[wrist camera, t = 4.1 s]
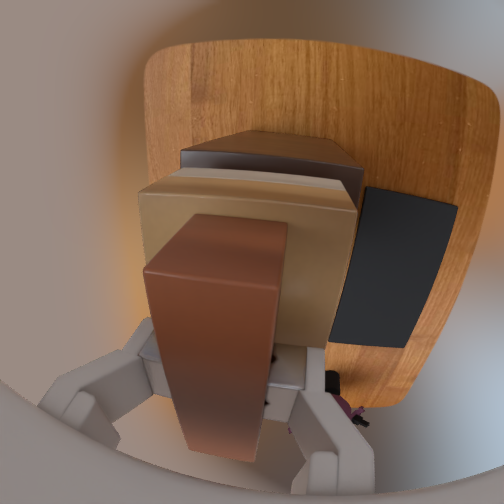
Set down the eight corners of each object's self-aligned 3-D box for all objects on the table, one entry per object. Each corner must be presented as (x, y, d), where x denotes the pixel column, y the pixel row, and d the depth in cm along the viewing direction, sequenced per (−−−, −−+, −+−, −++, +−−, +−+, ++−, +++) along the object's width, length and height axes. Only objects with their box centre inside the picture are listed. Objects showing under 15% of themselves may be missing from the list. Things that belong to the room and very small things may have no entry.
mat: (365, 186, 26) (366, 187, 26) (456, 205, 25) (458, 207, 25) (328, 338, 36) (328, 342, 35) (403, 345, 34) (404, 348, 34)
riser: (247, 130, 26) (180, 149, 12) (331, 139, 25) (364, 168, 11) (242, 225, 31) (187, 324, 17) (317, 235, 30) (322, 346, 16)
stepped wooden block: (182, 166, 11) (67, 235, 5) (341, 180, 10) (389, 273, 4) (194, 339, 15) (149, 442, 9) (306, 356, 14) (299, 471, 8)
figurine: (365, 374, 38) (372, 443, 27) (329, 398, 41) (327, 462, 31) (326, 352, 37) (326, 427, 26) (291, 380, 40) (282, 448, 30)
